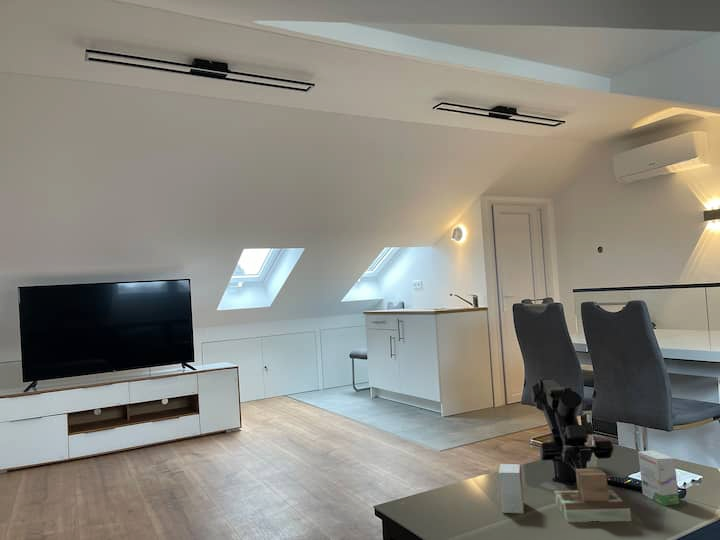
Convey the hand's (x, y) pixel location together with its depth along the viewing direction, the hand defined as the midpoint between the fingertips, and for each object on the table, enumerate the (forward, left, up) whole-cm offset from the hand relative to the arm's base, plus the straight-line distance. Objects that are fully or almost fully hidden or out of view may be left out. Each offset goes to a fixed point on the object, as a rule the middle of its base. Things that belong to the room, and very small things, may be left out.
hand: (584, 479), depth 139 cm
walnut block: (+5, -5, -4) cm, 8 cm away
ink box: (+12, +16, -7) cm, 21 cm away
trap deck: (+3, -3, -7) cm, 8 cm away
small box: (-13, -14, -7) cm, 20 cm away
